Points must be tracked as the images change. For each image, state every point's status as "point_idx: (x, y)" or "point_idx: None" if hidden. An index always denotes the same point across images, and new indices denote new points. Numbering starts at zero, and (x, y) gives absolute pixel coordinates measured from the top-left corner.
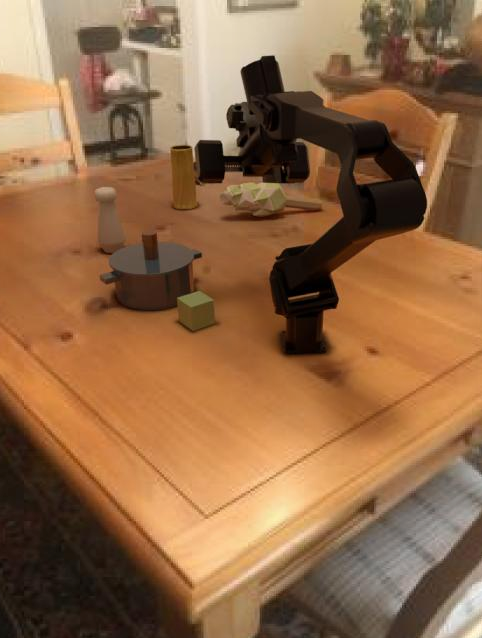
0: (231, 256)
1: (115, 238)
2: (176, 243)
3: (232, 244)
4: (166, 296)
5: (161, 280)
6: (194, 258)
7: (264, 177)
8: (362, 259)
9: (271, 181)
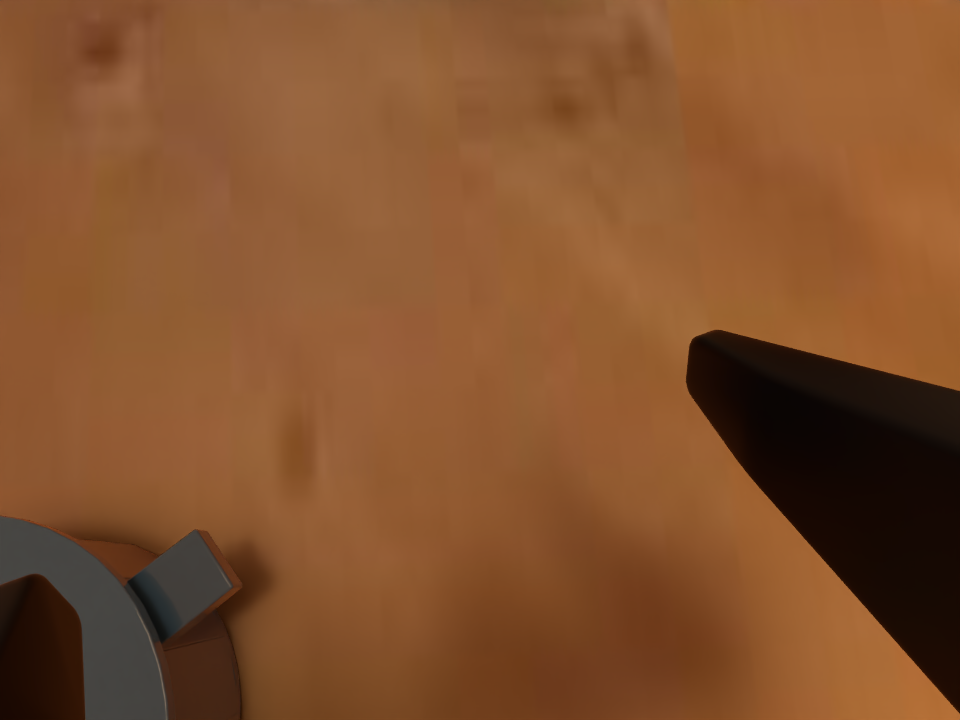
0: (400, 310)
1: None
2: (68, 543)
3: (398, 192)
4: None
5: None
6: (198, 622)
7: (740, 407)
8: (953, 327)
9: (877, 604)
